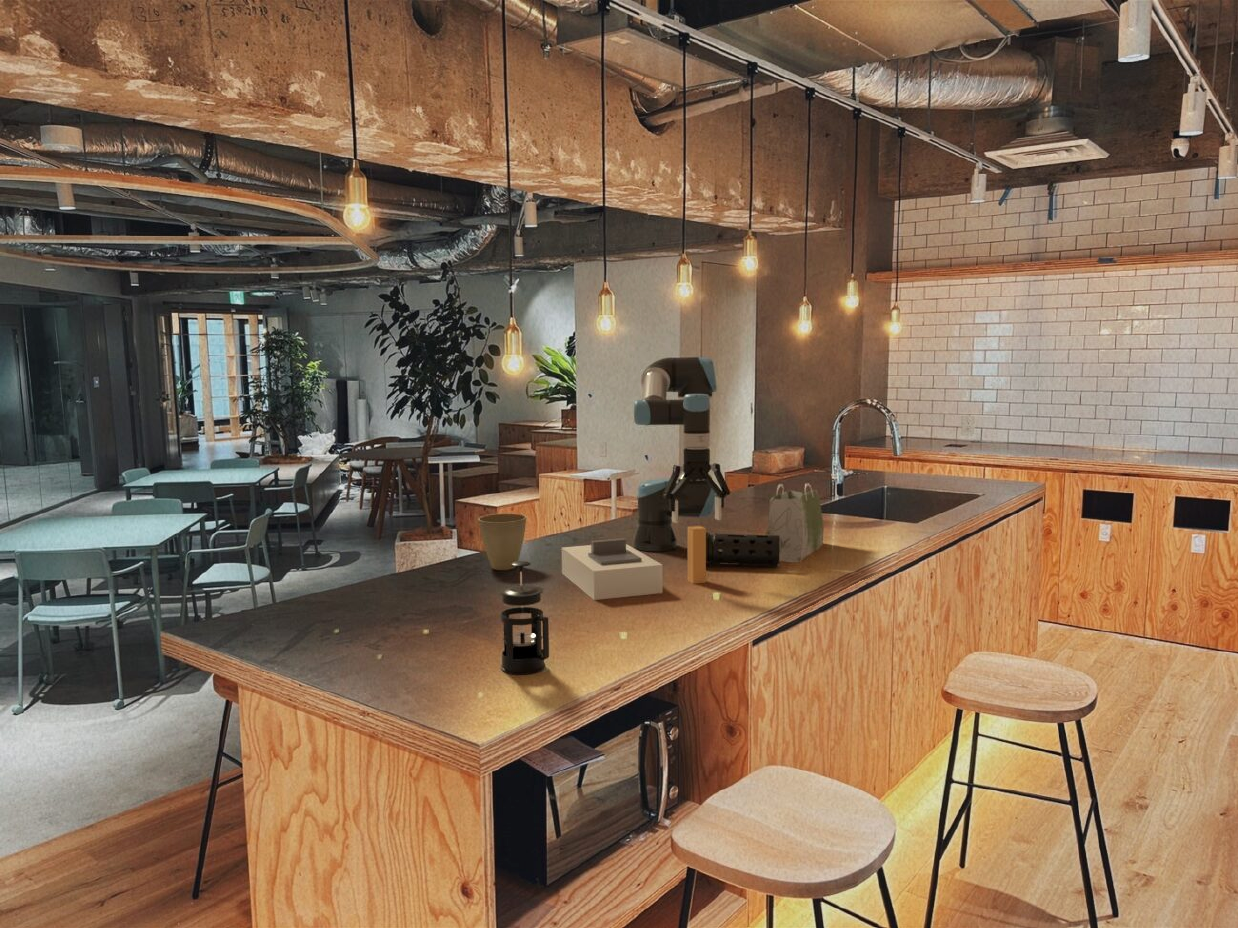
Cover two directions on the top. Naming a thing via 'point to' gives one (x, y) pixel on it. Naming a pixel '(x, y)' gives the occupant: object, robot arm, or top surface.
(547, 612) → the top surface
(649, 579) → the socket block
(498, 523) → the plant pot
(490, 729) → the top surface
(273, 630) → the top surface
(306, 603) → the top surface
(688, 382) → the robot arm
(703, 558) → the plug peg
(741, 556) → the muzzle brake
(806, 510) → the grocery bag
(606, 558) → the shutter
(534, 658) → the french press
